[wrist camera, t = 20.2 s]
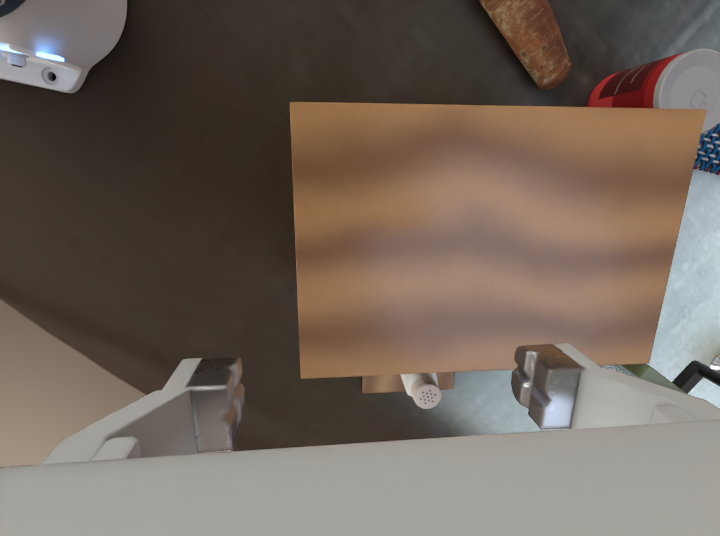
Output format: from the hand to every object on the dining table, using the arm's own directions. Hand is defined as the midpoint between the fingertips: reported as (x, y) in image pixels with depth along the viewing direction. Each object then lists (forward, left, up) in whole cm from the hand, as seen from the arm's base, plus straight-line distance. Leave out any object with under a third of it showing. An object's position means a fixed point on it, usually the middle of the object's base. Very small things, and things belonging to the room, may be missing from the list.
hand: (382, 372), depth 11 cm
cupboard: (+10, 0, -37) cm, 39 cm away
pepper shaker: (+10, -20, -37) cm, 43 cm away
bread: (+20, +22, -38) cm, 48 cm away
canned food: (+34, +12, -38) cm, 52 cm away
